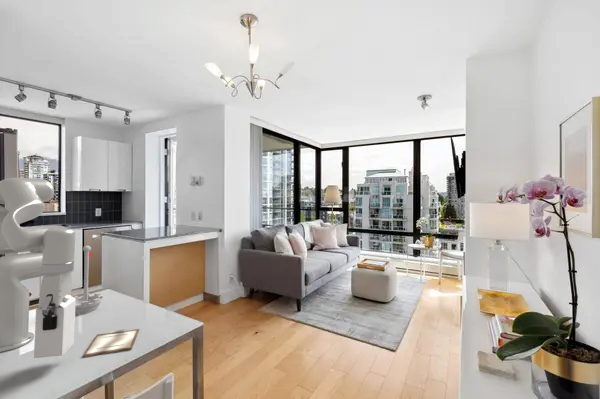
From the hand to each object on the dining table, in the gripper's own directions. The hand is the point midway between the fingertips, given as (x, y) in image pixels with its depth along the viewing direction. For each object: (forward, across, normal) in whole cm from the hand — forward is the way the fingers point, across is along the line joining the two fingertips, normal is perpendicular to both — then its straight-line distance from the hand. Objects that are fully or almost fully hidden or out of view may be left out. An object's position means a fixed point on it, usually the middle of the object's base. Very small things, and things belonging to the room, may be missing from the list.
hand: (56, 323), depth 86 cm
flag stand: (+15, -48, -6) cm, 51 cm away
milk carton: (+9, 0, 0) cm, 9 cm away
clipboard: (+13, -9, +14) cm, 21 cm away
